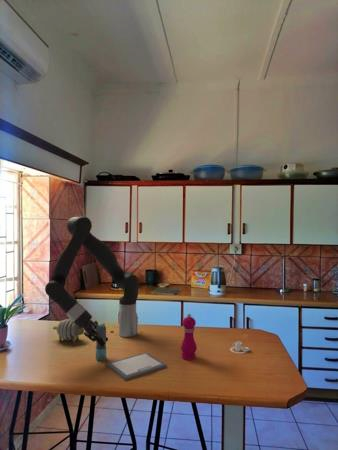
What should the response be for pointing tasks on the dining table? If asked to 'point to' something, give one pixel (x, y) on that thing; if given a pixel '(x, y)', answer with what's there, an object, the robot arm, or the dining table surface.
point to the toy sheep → (68, 330)
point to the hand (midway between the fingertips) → (105, 342)
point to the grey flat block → (136, 366)
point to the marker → (99, 349)
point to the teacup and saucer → (239, 348)
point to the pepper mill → (188, 339)
